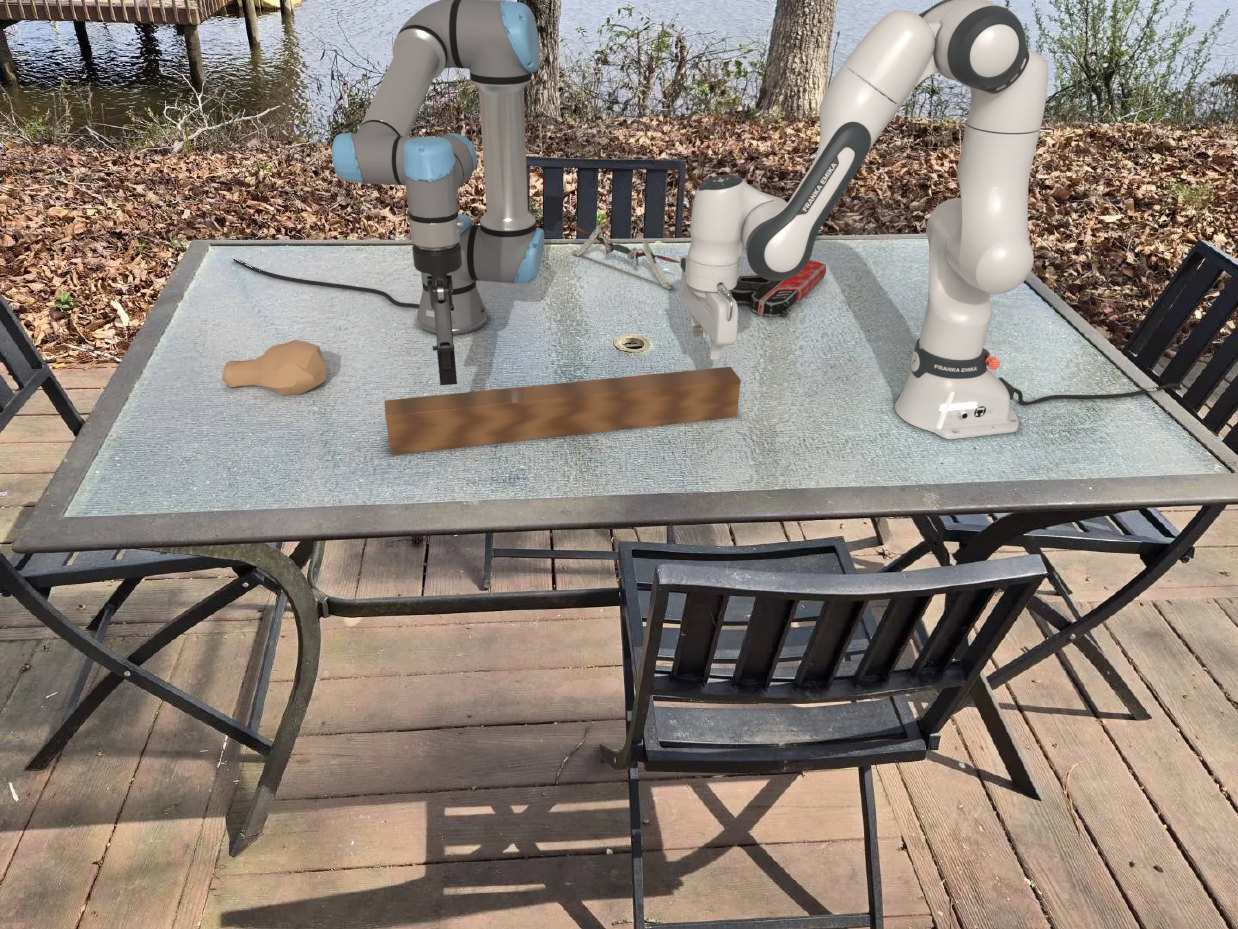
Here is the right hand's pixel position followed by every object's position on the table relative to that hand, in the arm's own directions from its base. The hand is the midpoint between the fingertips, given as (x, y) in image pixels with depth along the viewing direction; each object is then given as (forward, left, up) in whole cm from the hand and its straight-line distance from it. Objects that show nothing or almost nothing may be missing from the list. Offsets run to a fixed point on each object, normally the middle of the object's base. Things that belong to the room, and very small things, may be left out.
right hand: (704, 346), depth 158 cm
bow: (+12, -72, -14) cm, 74 cm away
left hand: (+45, +9, 0) cm, 46 cm away
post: (+25, +5, -14) cm, 29 cm away
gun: (-25, -59, -14) cm, 66 cm away
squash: (+81, -9, -14) cm, 83 cm away
